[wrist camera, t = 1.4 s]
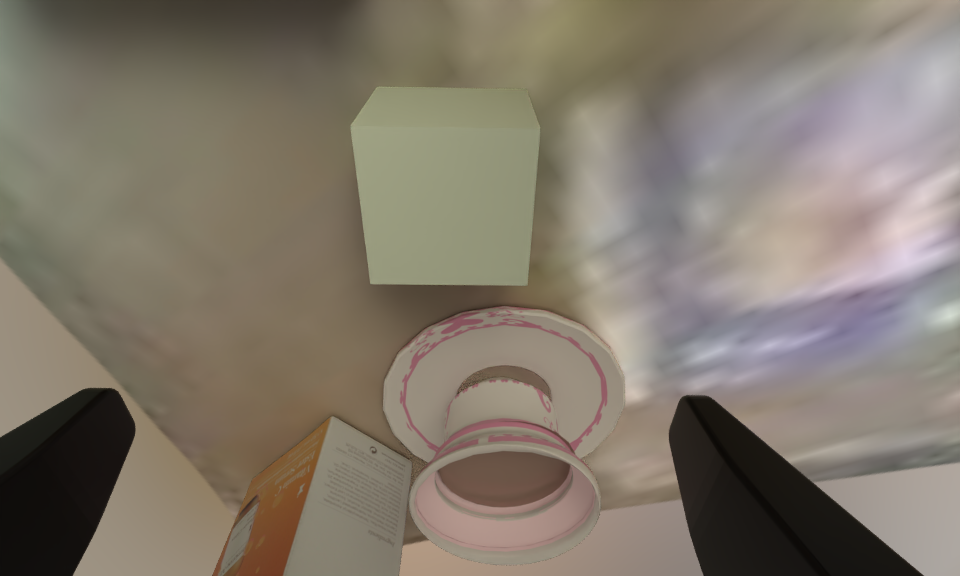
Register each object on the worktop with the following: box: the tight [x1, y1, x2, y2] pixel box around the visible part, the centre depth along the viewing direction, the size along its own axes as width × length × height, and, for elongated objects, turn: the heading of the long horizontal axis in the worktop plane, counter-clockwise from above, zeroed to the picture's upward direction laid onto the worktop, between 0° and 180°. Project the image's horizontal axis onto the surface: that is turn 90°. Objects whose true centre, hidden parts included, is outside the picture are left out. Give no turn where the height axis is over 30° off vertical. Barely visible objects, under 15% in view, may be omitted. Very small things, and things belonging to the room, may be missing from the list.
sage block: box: [350, 87, 540, 286], centre depth 17 cm, size 5×5×4 cm
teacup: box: [383, 306, 625, 565], centre depth 23 cm, size 12×12×6 cm
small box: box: [212, 416, 412, 576], centre depth 24 cm, size 8×6×10 cm
